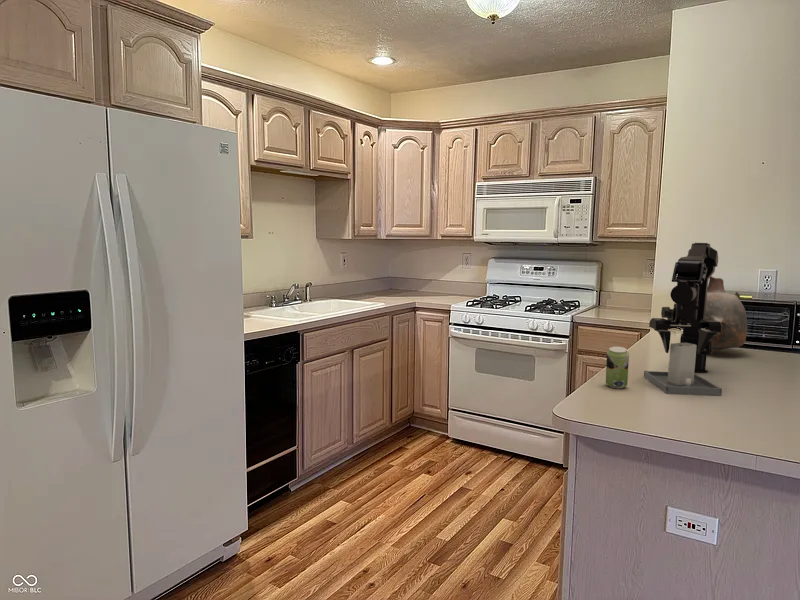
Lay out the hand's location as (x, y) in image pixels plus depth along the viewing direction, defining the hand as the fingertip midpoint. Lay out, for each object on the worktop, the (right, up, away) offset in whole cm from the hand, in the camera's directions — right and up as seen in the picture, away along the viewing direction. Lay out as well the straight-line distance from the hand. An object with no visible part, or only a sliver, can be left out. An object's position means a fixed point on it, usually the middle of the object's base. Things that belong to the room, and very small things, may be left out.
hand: (682, 353), depth 161 cm
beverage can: (-20, -10, -1) cm, 23 cm away
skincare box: (0, -9, +1) cm, 9 cm away
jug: (+37, -5, +49) cm, 62 cm away
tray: (0, -10, +1) cm, 10 cm away
